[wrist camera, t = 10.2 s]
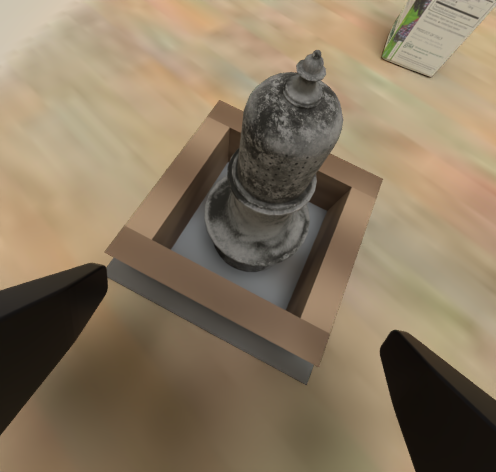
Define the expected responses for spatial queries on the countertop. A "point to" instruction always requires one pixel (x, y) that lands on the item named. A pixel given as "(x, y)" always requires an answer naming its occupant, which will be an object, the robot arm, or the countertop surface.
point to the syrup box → (433, 32)
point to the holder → (236, 281)
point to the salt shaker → (274, 168)
